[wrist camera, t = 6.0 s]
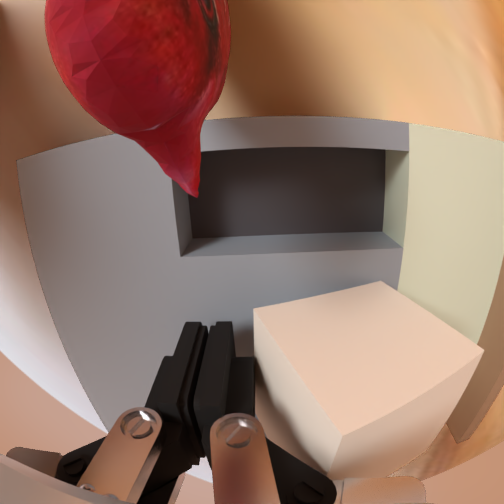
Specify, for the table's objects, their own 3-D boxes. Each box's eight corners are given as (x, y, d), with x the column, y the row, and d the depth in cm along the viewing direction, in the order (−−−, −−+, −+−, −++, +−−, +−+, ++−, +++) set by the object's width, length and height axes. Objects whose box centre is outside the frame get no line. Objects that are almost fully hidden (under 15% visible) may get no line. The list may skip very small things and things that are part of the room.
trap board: (494, 144, 11) (564, 155, 6) (440, 388, 16) (468, 438, 11) (49, 154, 11) (-26, 169, 7) (120, 406, 17) (96, 462, 12)
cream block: (380, 280, 10) (484, 350, 6) (359, 378, 12) (426, 450, 8) (253, 308, 9) (342, 435, 4) (255, 412, 11) (308, 514, 6)
